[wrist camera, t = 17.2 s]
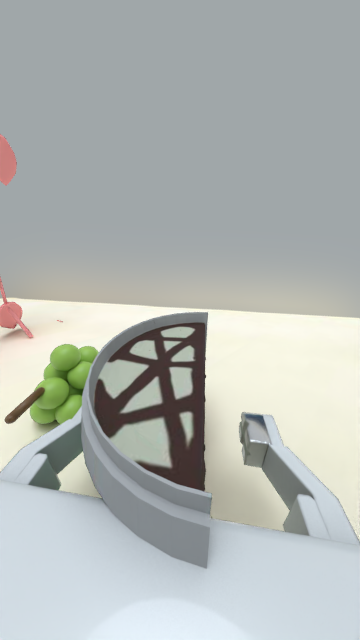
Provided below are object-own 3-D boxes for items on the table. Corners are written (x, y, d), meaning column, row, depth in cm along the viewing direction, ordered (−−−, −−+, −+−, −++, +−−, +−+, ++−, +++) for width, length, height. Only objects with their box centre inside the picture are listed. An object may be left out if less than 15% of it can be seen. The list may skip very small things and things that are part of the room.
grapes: (132, 368, 24) (125, 322, 21) (73, 470, 13) (46, 405, 11) (80, 363, 24) (67, 319, 22) (-13, 456, 14) (-57, 392, 12)
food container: (144, 395, 20) (134, 306, 16) (202, 401, 19) (207, 309, 15) (62, 603, 8) (-51, 484, 4) (196, 637, 8) (212, 531, 4)
